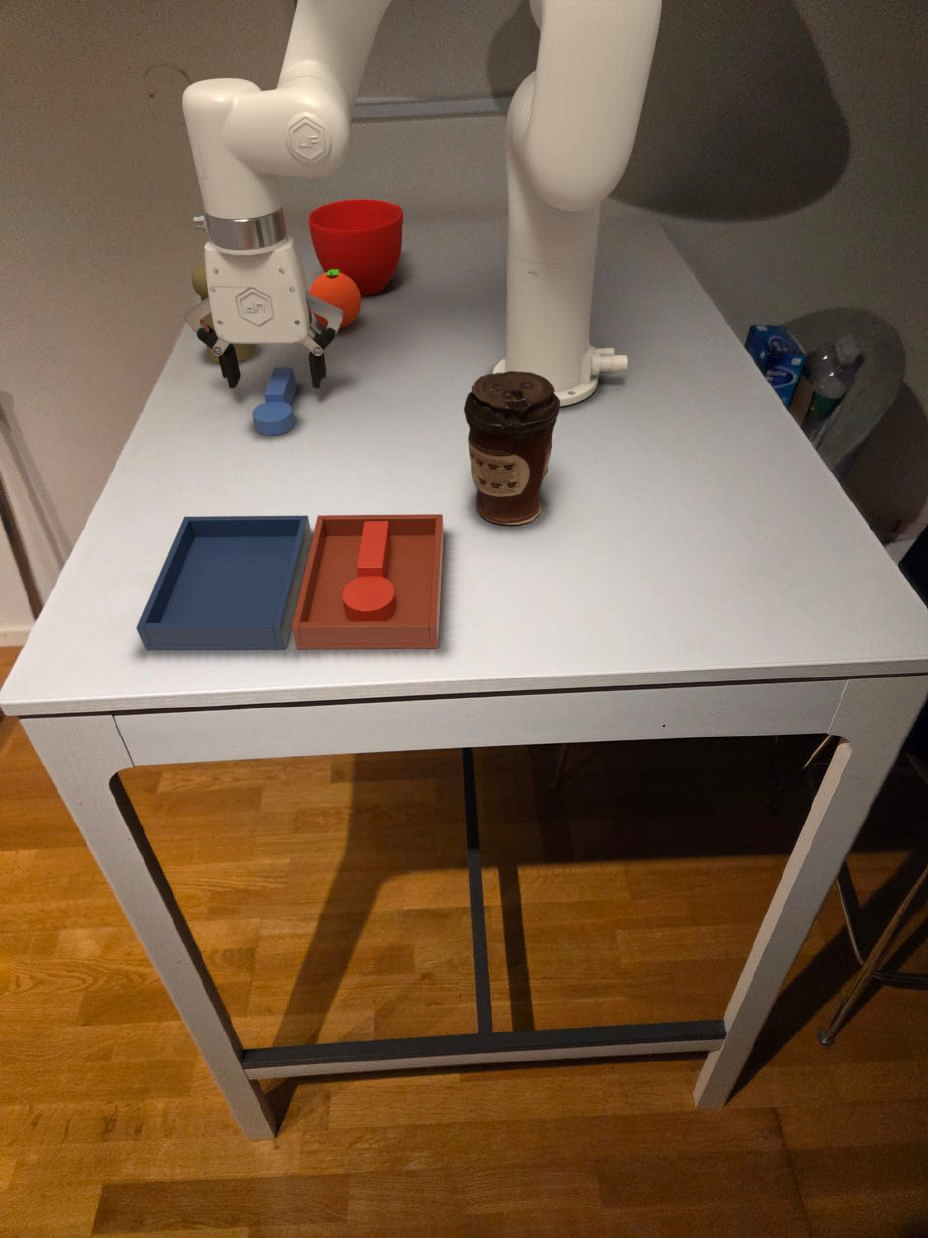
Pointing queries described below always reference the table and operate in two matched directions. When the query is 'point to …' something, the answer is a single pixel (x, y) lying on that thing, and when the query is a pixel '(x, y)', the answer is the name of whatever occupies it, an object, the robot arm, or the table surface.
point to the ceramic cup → (359, 240)
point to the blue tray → (228, 584)
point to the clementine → (337, 295)
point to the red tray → (336, 566)
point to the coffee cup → (510, 443)
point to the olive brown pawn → (201, 288)
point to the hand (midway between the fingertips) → (276, 382)
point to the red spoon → (371, 578)
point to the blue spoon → (277, 404)
